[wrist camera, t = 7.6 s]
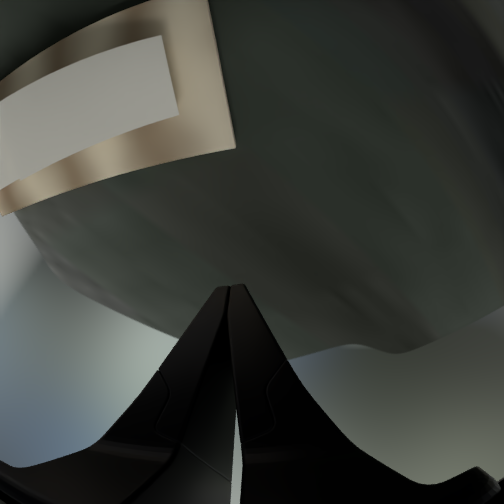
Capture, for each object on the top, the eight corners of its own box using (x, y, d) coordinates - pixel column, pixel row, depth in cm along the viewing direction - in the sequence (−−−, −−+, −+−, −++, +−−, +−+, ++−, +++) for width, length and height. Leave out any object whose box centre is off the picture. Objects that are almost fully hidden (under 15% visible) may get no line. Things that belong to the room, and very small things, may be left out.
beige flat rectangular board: (205, -10, 12) (203, -15, 11) (236, 144, 18) (235, 148, 17) (-26, 107, 14) (-33, 110, 13) (7, 211, 20) (2, 216, 19)
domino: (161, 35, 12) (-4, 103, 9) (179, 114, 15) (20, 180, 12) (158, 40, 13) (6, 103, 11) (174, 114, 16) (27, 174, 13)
